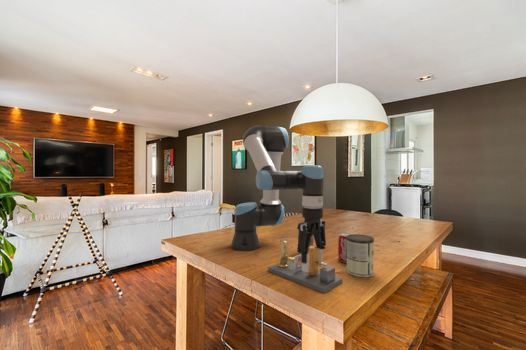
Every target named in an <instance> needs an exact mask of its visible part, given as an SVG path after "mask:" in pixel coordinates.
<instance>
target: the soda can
mask: <svg viewBox="0 0 526 350" xmlns="http://www.w3.org/2000/svg"><path fill="white" fill-rule="evenodd" d="M347 235H352V234H351V233H348V232H342V233H339V236H338V239H337V257H338V260H339V261H340V262H342V263H345V264H347V238H346V236H347Z"/></svg>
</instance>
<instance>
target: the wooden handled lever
mask: <svg viewBox="0 0 526 350" xmlns="http://www.w3.org/2000/svg"><path fill="white" fill-rule="evenodd" d="M308 254H309V273H307V272H306V273H307V274H310V275H312V276H314V275H316V274H318V270H319V269H318V268H319V266H318V264H320V265H322V267H323V266H324V267H325V266H329V264H328V263H326V262H323V261H322V262H320V261H318V247H316V246H314V245H313V246H309V250H308ZM293 258H294V271H297V270H299V269H302V262H301V261H300V265H299V266H298V264H299V263H298V262H299V261H298V260H301V259H302V258H301V254H297V255H294V256H293Z"/></svg>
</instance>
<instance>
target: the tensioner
mask: <svg viewBox="0 0 526 350" xmlns="http://www.w3.org/2000/svg"><path fill="white" fill-rule="evenodd" d="M319 271H320V282H322V283H324V284H329V283H331V282H333V281H335V276H336V267H334V266H330V265H328V266H324V267H323V266H322V267H320V268H319Z"/></svg>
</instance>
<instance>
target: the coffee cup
mask: <svg viewBox="0 0 526 350" xmlns="http://www.w3.org/2000/svg"><path fill="white" fill-rule="evenodd" d="M303 224H304V222H299V223H298V224H297V239H298V238H299V225H303ZM308 233H309V232H308ZM314 241H315V239H314V235H313V236H312V237H311V241H310V246H314ZM298 253H299V252H298ZM299 254H301V253H299ZM299 254H298V255H299Z"/></svg>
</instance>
